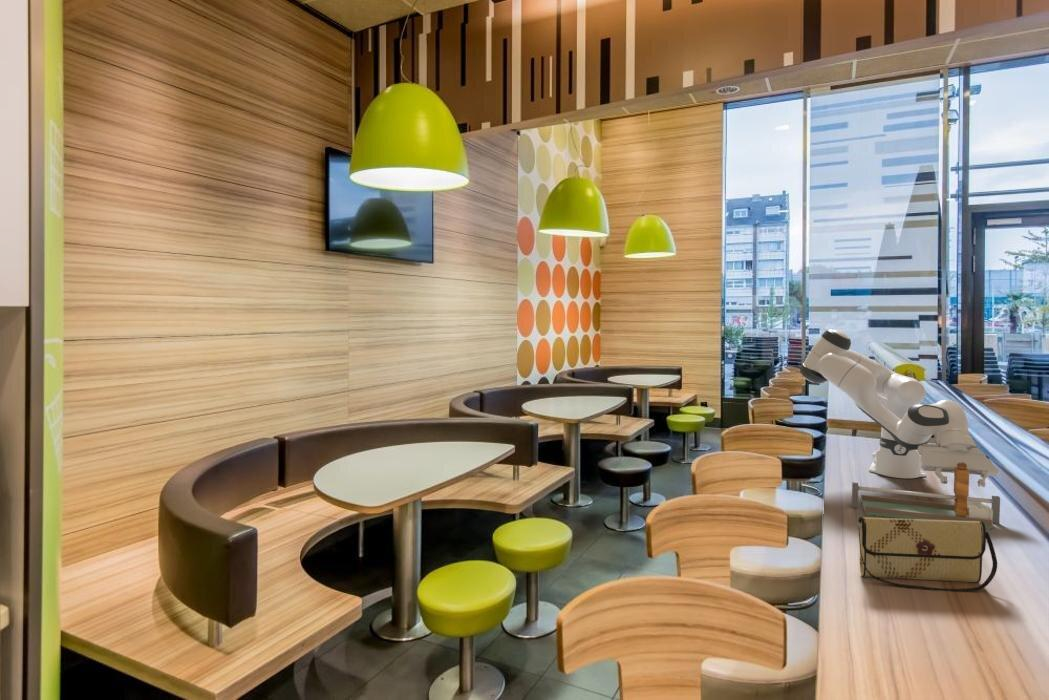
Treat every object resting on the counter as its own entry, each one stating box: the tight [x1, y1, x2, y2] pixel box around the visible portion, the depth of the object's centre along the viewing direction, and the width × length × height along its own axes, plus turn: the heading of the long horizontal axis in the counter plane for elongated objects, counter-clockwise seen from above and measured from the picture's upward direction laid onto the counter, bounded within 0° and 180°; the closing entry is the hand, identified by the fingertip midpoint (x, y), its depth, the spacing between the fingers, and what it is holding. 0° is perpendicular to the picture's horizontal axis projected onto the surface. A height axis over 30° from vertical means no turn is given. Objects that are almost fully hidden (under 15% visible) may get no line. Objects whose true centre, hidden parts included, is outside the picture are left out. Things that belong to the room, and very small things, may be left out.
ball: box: [967, 505, 978, 515], centre depth 175 cm, size 4×4×4 cm
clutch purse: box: [854, 516, 998, 593], centre depth 136 cm, size 30×7×15 cm, turn 81°
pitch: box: [851, 481, 1001, 530], centre depth 181 cm, size 13×38×8 cm, turn 65°
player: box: [953, 462, 970, 516], centre depth 176 cm, size 4×3×16 cm
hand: (963, 484), depth 176 cm, fingers open, 8 cm apart
